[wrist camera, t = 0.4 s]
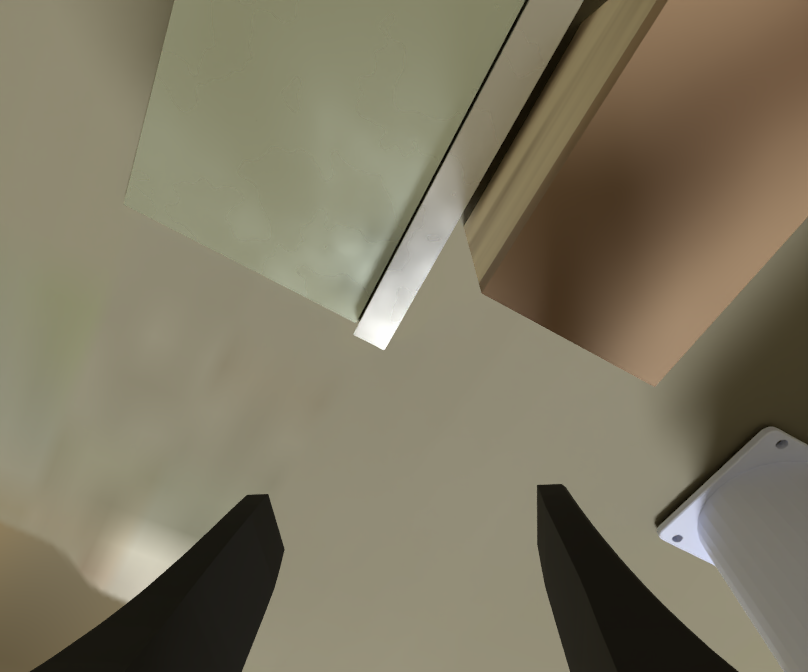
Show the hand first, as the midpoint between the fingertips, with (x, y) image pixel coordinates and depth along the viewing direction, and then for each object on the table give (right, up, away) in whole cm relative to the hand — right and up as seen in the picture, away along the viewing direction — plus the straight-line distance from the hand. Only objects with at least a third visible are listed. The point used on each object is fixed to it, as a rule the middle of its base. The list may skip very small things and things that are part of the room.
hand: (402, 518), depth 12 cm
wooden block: (+7, +11, +6) cm, 14 cm away
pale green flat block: (-2, +16, +4) cm, 16 cm away
